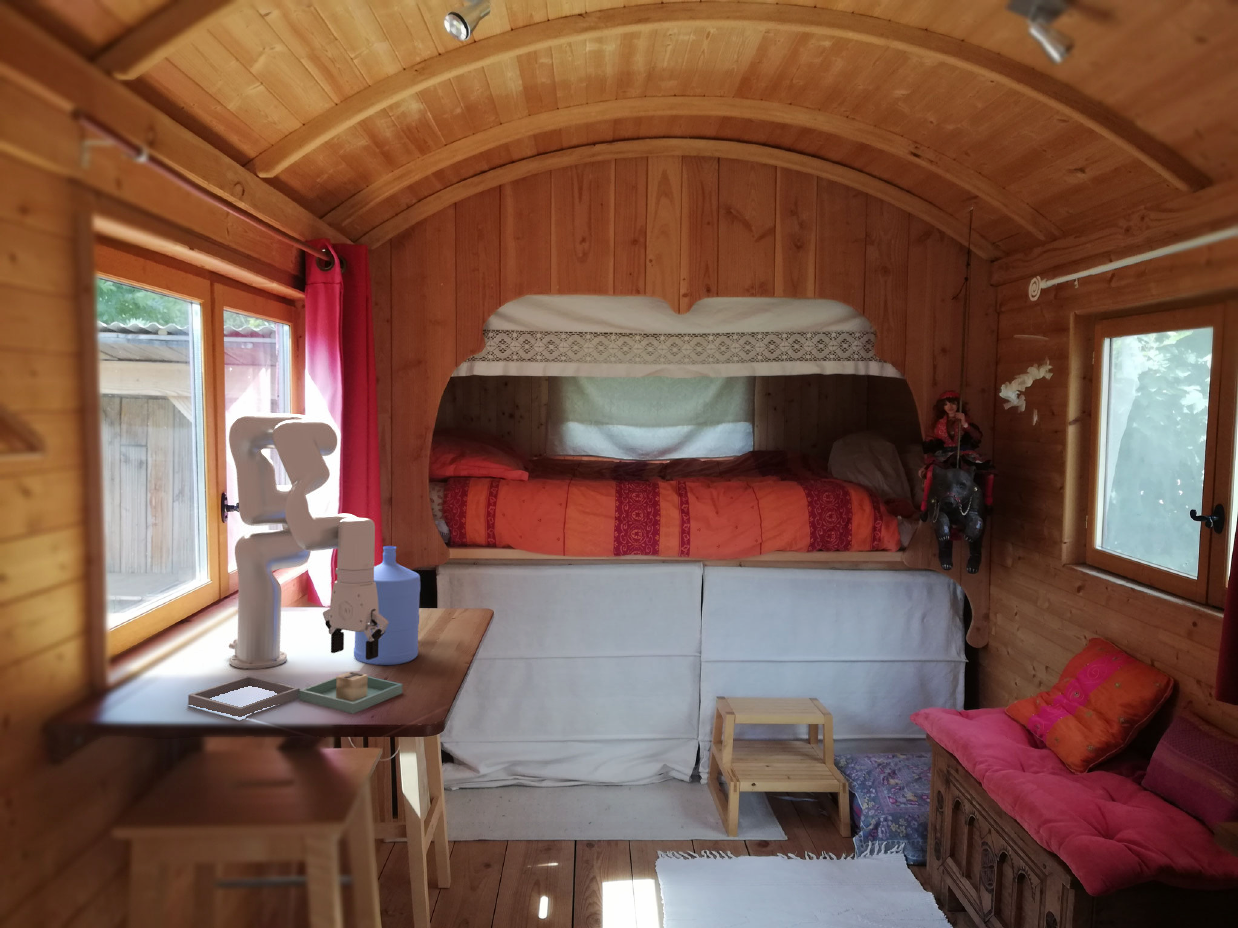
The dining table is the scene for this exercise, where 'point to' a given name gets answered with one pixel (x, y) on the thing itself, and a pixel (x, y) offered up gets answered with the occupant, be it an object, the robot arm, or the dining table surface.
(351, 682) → the letter cube
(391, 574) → the water jug
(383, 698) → the green tray
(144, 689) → the dining table surface
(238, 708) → the brown tray
